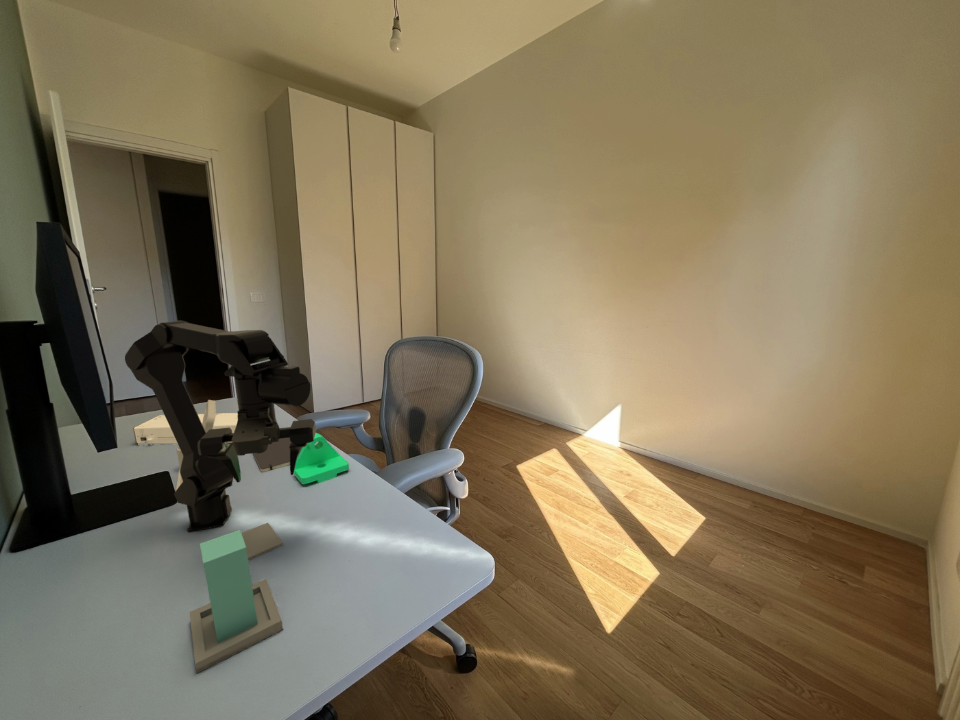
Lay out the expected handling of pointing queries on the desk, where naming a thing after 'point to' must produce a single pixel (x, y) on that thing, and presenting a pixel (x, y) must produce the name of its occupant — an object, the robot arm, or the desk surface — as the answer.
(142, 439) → the laminator
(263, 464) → the notebook
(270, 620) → the shallow beige square tray
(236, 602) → the tall green square pillar
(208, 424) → the phone holder
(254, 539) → the lid
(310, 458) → the green mounting bracket
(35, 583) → the desk surface
